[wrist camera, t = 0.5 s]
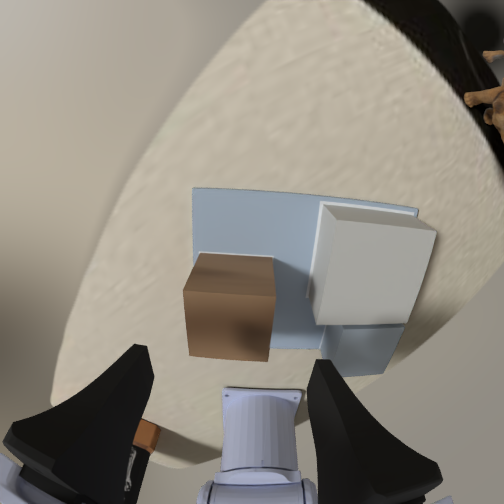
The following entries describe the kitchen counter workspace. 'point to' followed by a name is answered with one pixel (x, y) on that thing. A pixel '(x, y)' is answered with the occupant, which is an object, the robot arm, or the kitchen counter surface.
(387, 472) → the robot arm
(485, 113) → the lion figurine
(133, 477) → the whiskey bottle
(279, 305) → the mat
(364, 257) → the base block
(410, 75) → the kitchen counter surface
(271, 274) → the walnut block
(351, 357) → the slate block
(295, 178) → the kitchen counter surface
